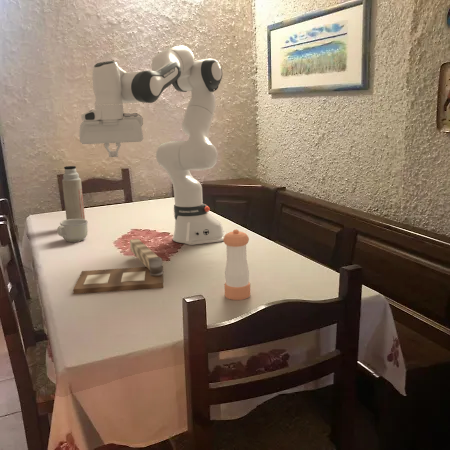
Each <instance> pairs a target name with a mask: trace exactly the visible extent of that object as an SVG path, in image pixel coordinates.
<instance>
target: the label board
mask: <svg viewBox="0 0 450 450" xmlns="http://www.w3.org/2000/svg"><path fill="white" fill-rule="evenodd" d="M162 269H163V271H162V272H161V273H150V270H149V269H148V268H147V267H146V266H140V267H124V268H123V267H122V268H108V269H107V268H105V269H92V270H82V271H81V272H80V275H79V276H78V278H77V280H76V283H75V284H74V287H73V289H72V293H73V295H77V294H78V295H80V294H92V293H105V292H106V293H107V292H120V291H121V292H122V291H134V290H146V289H147V290H148V289H162V288H164V265H162Z"/></svg>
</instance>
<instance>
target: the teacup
mask: <svg viewBox="0 0 450 450" xmlns="http://www.w3.org/2000/svg"><path fill="white" fill-rule="evenodd" d="M59 224H60V226H58V227H57V229H56V232H57V235H59V236H60V237H62V238H63V240H65V241H66V242H70V243H76V242H77V243H78V242H81V241H83V240H84V239H85V238H86V237H87V236H88V231H89V229H88V220H86V219H85V220H84V219H68V220H67V219H63V220H61V221H60V222H59Z"/></svg>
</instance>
